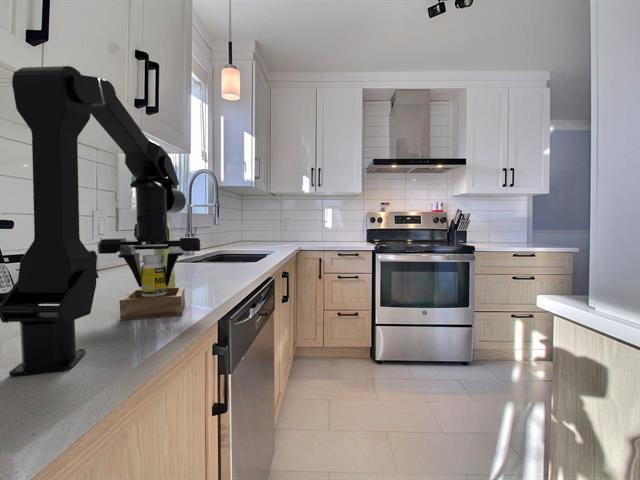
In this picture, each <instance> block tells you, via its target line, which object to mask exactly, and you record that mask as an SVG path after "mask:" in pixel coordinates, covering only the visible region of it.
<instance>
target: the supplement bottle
mask: <svg viewBox="0 0 640 480" xmlns="http://www.w3.org/2000/svg"><path fill="white" fill-rule="evenodd" d="M163 261H164V255H162V254H156V255H154V254H145V255H142V263H143V264H142V265H140V268H141V284H142V287H141V289H142V296H144V297H156V296H162V295H165V294H166V293H167V289H166V265H165V264H164V263H163Z"/></svg>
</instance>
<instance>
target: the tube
mask: <svg viewBox="0 0 640 480" xmlns="http://www.w3.org/2000/svg"><path fill="white" fill-rule="evenodd" d="M167 225H168V228H169V241H170V240H173V238H172V231H171V226H170V225H171V224H170V220H169V219H167ZM169 252H170V250H169V249H153V255H156V254H162V255H164V261H163V263H164V264H165V265H166V268H167V256H168V253H169ZM172 287H176V274H175V267H174V268H173V272H172V275H171V278H170V282H169V285H168V286H166V288H172Z"/></svg>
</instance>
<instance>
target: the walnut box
mask: <svg viewBox="0 0 640 480" xmlns="http://www.w3.org/2000/svg"><path fill="white" fill-rule="evenodd" d="M166 289H167V293H166V294H165V295H162V296H156V297H144V296H142V288H139V289H131V290H130V291H128V292H127V293H126V294H125V295H124V296H123V297H122V298H121V299H119V319H120V322H122V321H123V322H124V321H134V320H146V319H158V318H169V317H181V316H182V315H183V313H184V309H185V306H186V305H185V304H186V299H185V298H186V297H185V296H186V294H185V290H186V289H185V286H175V287H172V288H166Z"/></svg>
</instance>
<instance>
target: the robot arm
mask: <svg viewBox="0 0 640 480" xmlns="http://www.w3.org/2000/svg"><path fill="white" fill-rule="evenodd" d="M11 85H12V91H13V96H14V102H15V109H16V111H17V112H18V114H19V116H20V117H21V118H22V119H23V122H24V123H26V125H27V126H28V128H29V129H30V131H31V150H32V151H31V152H32V155H31V156H32V189H33V191H32V192H33V193H32V194H33V195H32V196H33V197H32V198H33V200H32V201H33V228H34V229H33V231H34V232H33V233H34V237H33V241H32V242H31V244H30V246H29V247H28V248H27V250H26V251H25V253H24V254H23V255H22V258H21V259H20V263H19V269H18V276H17V281H16V282H15V283H14V285H13V286H12V287H11V289H10V291H8V292H7V294H6V296H5V297H4V298H3V300H2V301H1V302H0V321H1V323H3V324H4V323H5V324H6V323H19V327H20V346H21V347H20V348H21V361H20V363H19V364H17V365H16V366H14V367H13V368H12V369H11V370H9V372H8V375H9V377H10V376H11V377H13V376H21V375H30V374H31V375H32V374H39V373H47V372H56V371H65V370H69V369H71V368H72V367H73V366H75V364H76V363H77V362H78V361H79V360H80V359H81V358H82V357H83V356H84V354H86V349H85V348H79V349H77V343H76V325H75V324H76V320H77V319H80V318H83V317H86V316H89V315H91V312H92V308H93V302H94V298H95V292H96V287H97V279H99V274H98V269H97V264H98V263H97V262H98V254H99V255H102V254H105V255H106V254H108V255H110V254H117V253H118V252H119V254H118V255H117V257H118V258H119V259H121V258H123V260H124V261H125V262H126V264H127V266H128V267H129V269H130V270H131V272H132V275H133V277H134V279H135V280H136V284H137V285H138V287H139V288H142V284H141V263H140V260H141V259H140V252H137V251H138V250H139V251H140V250H141V251H142V250H154V249H169V250H170V252H169V253H168V256H167V268H166V286H168V285H169V282H170V278H171V275H172V272H173V268H174V269H175V265H176V263H177V260H178V259H179V256H180V257H182V256H184V255H185V252H200V251H201V250H202V249H201V239H200V238H199V237H198V236H187V237H185V236H182V237H180V238H179V240H178V239H175V240H173V239H172V240H170V241H169V228H168V225H167V220H168V213H170V214H176V213H180V212H181V211H183V210H184V208H185V206H186V203H187V198H186V197H185V194H184V193H183V192H182V191H181V190H180V189H178V186H179V185H180V182H179V179H178V176H177V173H176V170H175V167H174V166H175V165H174V163H173V161H172V158H171V157H170V155H169V154H168V153H167V151H166V150H165V149H164V148H163V147H162V146H161V145H160V144H158V143H156V142H154V141H152V140H151V139H148V137H147V136H146V135H145V134H144V132H143V131H142V130H141V128H140V126H139V125H138V124H137V122H135V120H134V118H133V117H132V115H131V114H130V113H129V111H128V109H126V107H125V105H123V103H122V101H121V100H120V99H119V98H118V96H117V93H116V90H115V87H114V85H113V84H112V82H111V81H109V80H106V79H103V78H99V77H98V76H97V77H96V76H90V75H85V74H81V72H80V71H79V70H78V69H76V68H75V67H73V66H71V65H65V66H63V65H61V66H60V65H59V66H33V67H32V66H31V67H29V66H26V67H21V68H19V69H17V70H16V71H14V72H13V74H12V80H11ZM91 115H92V117H93V118H94V119H95V121H96V122H98V123H99V125H100V126H101V128H102V129H103V130H104V131H105V132H106V133H107V135H108V136H110V138H111V139H112V141H114V143H115V144H116V145H117V146H118V148H120V149H121V151H122V152H123V154H124V156H125V157H124V164H125V166H126V168H127V169H128V170H129V172H130V173H131V174H132V176H133V177H134V178H135V179H134V180H133V181H132V182H130V184H129V185H130V187H131V188H133V189H135V203H136V207H135V208H136V223H135V224H134V230H133V235H134V239H135V240H134V241H133V240H132V241H131V240H128V241H127V238H124V237H123V238H122V237H121V238H118V237H117V238H103V239H101V240H99V242H98V244H97V247H98V249H97V251H98V254H97V252H96V251H95V250H94V249H93V250H88V249H87V248H86V246H85V245H84V244H83V242H82V241H81V238H80V237H81V236H80V205H79V203H80V201H79V199H80V198H79V192H80V191H79V157H78V155H79V154H78V139H79V136H80V134H81V133H82V131H84V129H85V127H86V126H87V124H88V122H89V121H90V119H91Z"/></svg>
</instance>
